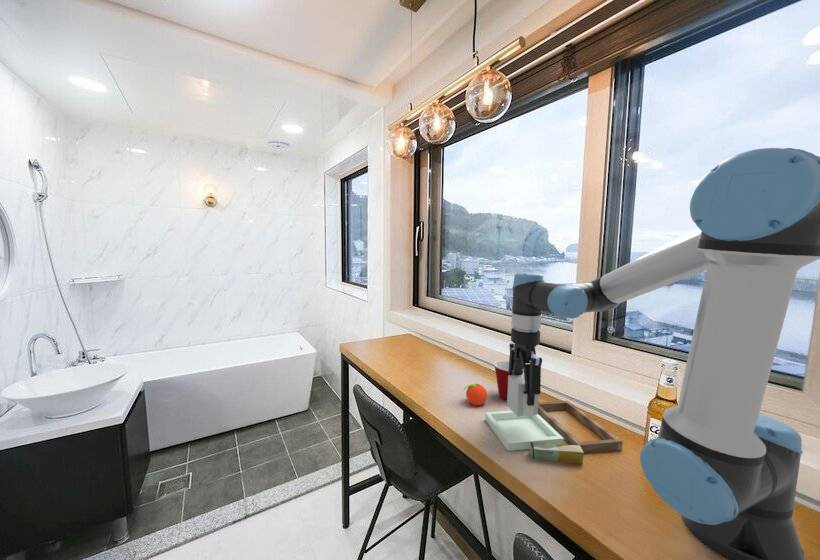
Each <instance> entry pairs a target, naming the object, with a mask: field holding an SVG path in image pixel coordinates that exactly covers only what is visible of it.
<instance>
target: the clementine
mask: <svg viewBox="0 0 820 560" xmlns="http://www.w3.org/2000/svg"><path fill="white" fill-rule="evenodd" d="M465 389H466V392H465V395H466V399H467V401H468V402H469V403H470V404H471V405H473V406H481V405H483V404H484V403H485V402H486V401H487V397H488V393H487V390H486V388H485V387H484V386H483V385H482V384H480V383H471V384H468V385H466V386H464V388H463V390H462V392H464V391H465Z"/></svg>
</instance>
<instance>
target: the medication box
mask: <svg viewBox="0 0 820 560" xmlns="http://www.w3.org/2000/svg"><path fill="white" fill-rule="evenodd" d="M529 455H530V457H531V458H532V459H534V460H541V461H542V460H544V461H552V462H561V463H569V464H578V465H583V462H584V452H583V450H582V448H581V447H580V445H569V444H551V443H535V442H530V450H529Z"/></svg>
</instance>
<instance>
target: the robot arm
mask: <svg viewBox="0 0 820 560" xmlns="http://www.w3.org/2000/svg"><path fill="white" fill-rule="evenodd" d="M689 201H690V202H689V213H690V218H691V220H692V222H693V223H695V226H696V227H697V229H695V230H693V231H692V232H691V231H690V232H689V233H687V234H685V235H682V236H681V237H679V238H677V239H675V240H673V241H671V242H669V243H666V244H665V245H663V246H661V247H659V248H656V249H655V250H653V251H651V252H648V253H647V254H644V255H642V256H640V257H638V258H637V259H634V260H633V261H630V262H628V263H626V264H624V265H622V266H620V267H618V268H616V269H614V270H612V271H610V272H608V273H605V274H603V275H602V276H600V277H597V278H596V279H594V280H591V281H588V282H578V283H577V282H573V283H554V282H545V280H544V275H543V273H540V272H531V271H530V272H529V271H528V272H527V271H522V272H521V271H519V272H517V273H515V274H514V277H513V283H512V306H511V308H512V309H511V327H512V328H511V329H510V330H511V331H510V341H511V342H512V343H509V356H508V357H509V360H508V362H509V370H508V375H524V379H525V389H526V391H524V392H523V393H524V398H523V416H533V414H534V399H535V395H537V394H539V395H541V390H542V387H541V384H542V383H541V381H542V379H541V378H542V377H541V376H542V363H543V358H542V357H538V356H537V352H536V347H537V346H539V345H540V344H541V331H540V329H541V324H542V323H541V322H542V313H547V314H550V315H553V316H556V317H559V318H568V319H577V318H579V317H580V316H582V315H583V314H586V313H592V312H593V313H595V312H596V313H597V312H601V313H603V312H606V311H607V312H608V311H610V310H614V309H616V308H618V306H619V305H620V304H622V303H624V302H627V301H629V300H632V299H634V298H637V297H640V296H642V295H645V294H648V293H651V292H653V291H656V290H658V289H661V288H664V287H666V286H669V285H672V284H674V283H676V282H681V280H685V279H687V278H690V277H693V276H695V275H697V274H701V273H703V272H705V277H704V281H703V282H704V283H703V286H702V291H701V296H700V300H699V304H698V309H697V314H696V318H695V324H694V328H693V332H692V337H691V340H690V341H691V342H690V347H689V351H688V355H687V361H686V364H685V369H684V374H683V378H682V383H681V387H680V393H679V396H678V402H677V405H675V406H671V407H668V408H666V409H664V411H663V414H662V418H661V421H660V423H661V424H660V428H659V433H658V436H657V438H656V437H655V438H652V439H649V440H647V441H648V442H647V443H645V444H644V445H643V446H642V448H641V450H640V456H639V458H640V460H639V461H640V465H641V469H642V472H643V475H644V477H645V479H646V481H648V482H649V483H650V485H651V488H652V489H653V491H654V492H655V493H656V495H657V496H659V498H660V499H661V500H662V501H663V502H664V503H665V504H666V505H668V506H669V507H670V508H671V509H672V510H674V511H675V512H677V513H678V514H679V515H680V516H681V518H682V521H683V522H684V524H685V526H686V527H687V529H688V530H689V531H690V532H691V533H692V534H693V535H694V537H696V538H697V539H698V540H699V541H700V542H702V543H703V544H704V545H706V547H708V548H709V549H711V550H712V551H714V552H715V553H717V554H718V555H720V556H721V557H723V558H724V559H727V560H805V553H804V550H803V548H802V544H801V542H800V538H799V535H798V532H797V528H796V526H795V522H794V520H793V515H794V513H793V512H794V506H795V500H796V492H797V487H798V477H799V470H800V464H801V458H802V457H801V456H802V455H803V453H804V451H803V450H802V437H801V435H800V433H798V431H796V430H795V429H794V428H793V427H791V426H789V425H788V424H786V423H784V422H783V421H779V420H777V419H774V418H772V417H769V416H766V415H764V414H761V413H760V411H761V408H762V404H763V401H764V397H765V393H766V391H767V385H768V382H769V379H770V376H771V375H770V374H771V371H772V368H773V363H774V360H775V356H776V353H777V349H778V345H779V341H780V337H781V333H782V331H783V328H784V323H785V319H786V316H787V315H786V314H787V311H788V307H789V303H790V300H791V296H792V292H793V289H794V285H795V282H796V277H797V273H798V271H799V270H800V269H802V268H803V267H806V266H808V265H809V264H812V263H814V262H816V261H819V260H820V156H819V155H816V154H814V153H812V152H810V151H807V150H804V149H799V148H793V147H791V148H790V147H786V148H780V147H766V148H765V147H764V148H756V149H751V150H747V151H744V152H741V153H738V154H735V155H733V156H731V157H729V158H727V159H725V160H724V161H721V162H720V163H719V164H717V165H716V166H715V167H713V169H711V170H710V171H708V172H707V173H706V174H705V175H704V176H703V177H702V178H701V179H700V180H699V182H698V183H697V185H696V186H695V188H694V190H693V192H692V193H691V197H690V200H689ZM523 369H524V372H523V374H522V371H523Z"/></svg>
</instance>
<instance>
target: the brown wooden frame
mask: <svg viewBox="0 0 820 560" xmlns="http://www.w3.org/2000/svg"><path fill="white" fill-rule="evenodd" d="M556 411H558V412H559V411H567V412H568V413H569V414H571V415H572V416H573V417H574V418H576V419H577V420H578V421H580V422H581V423H582V424H583V425H585V426H586V427H587V428H588V429H589V430H590V431H592V432H593V433H595V434H596V435H598V437H600V438H601V440H600V439H599V440H589V441H580V440H579V439H578V438H576V437H575V436H574V435H573V433H571V432H570V431H568V430H567V429H566V428H565V427H564V426H563V425H562V424H561V423H559V422H558V421H557V420H556V419H555V418H554V417H553V416H552V415H551V414H550V413H548V412H556ZM538 414H539V415H540V416H541V417H542V418H543V419H544V420H545V421H546V422H547V423H548V424H549V425H550V426H551V427H552V428H553V429H554V430H555V431H557V432H558V433H559V434H560V435H561V436H562V437H563V438H564V442H566V443H568V444H567V445H580V447H581V448H582V450H583V452H584V453H585V454H586V453H597V452H598V453H599V452H613V451H614V452H615V451H623V440H621V439H620V438H619V437H617V436H616V435H615V434H613V432H611V431H609V430H608V429H606V428H605V427H604V426H602V425H601V424H600V423H598V422H597V421H596V420H594V419H593V418H592V417H590V416H589V415H587V413H585V412H584V411H582V410H581V409H580V408H578V407H577V406H576V405H574V404H573V403H572V402H570V401H569V400H555V401H543V402H542V401H541V402H538Z"/></svg>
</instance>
